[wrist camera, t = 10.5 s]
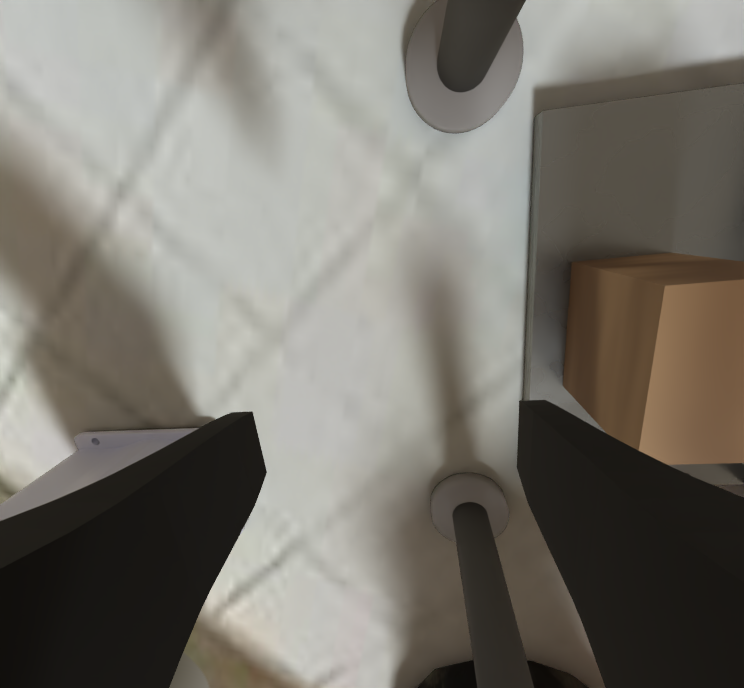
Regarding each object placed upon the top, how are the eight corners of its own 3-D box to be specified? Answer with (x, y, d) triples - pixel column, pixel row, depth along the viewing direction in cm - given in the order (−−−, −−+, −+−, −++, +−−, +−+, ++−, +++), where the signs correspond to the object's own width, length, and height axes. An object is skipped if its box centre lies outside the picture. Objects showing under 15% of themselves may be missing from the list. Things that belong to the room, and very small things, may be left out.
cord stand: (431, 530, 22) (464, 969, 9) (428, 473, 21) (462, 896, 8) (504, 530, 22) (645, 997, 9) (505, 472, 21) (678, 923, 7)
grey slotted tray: (520, 474, 20) (553, 550, 16) (534, 117, 15) (593, 69, 10) (753, 471, 19) (866, 553, 14) (870, 72, 13) (1124, -9, 9)
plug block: (562, 385, 17) (636, 465, 12) (571, 261, 16) (665, 285, 10) (651, 381, 17) (772, 462, 11) (672, 252, 15) (830, 272, 9)
